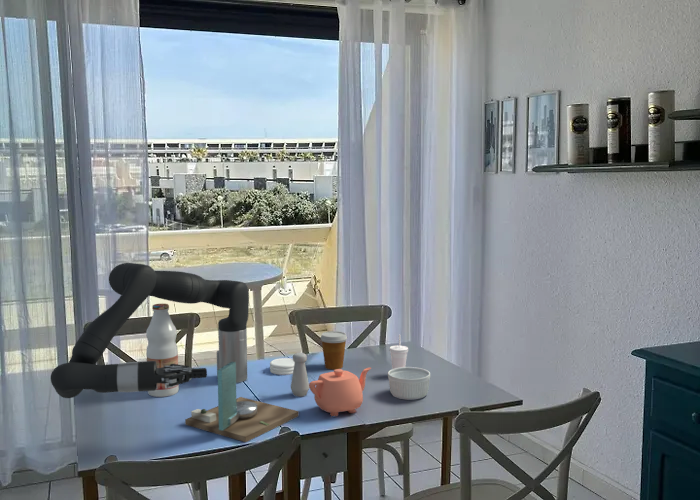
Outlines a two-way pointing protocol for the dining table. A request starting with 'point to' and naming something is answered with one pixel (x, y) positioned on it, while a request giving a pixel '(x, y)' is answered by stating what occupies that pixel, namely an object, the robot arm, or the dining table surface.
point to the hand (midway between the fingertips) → (206, 372)
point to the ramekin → (409, 382)
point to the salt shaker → (299, 376)
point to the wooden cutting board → (243, 421)
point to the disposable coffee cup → (333, 349)
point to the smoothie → (398, 355)
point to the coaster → (282, 366)
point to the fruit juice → (162, 346)
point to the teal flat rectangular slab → (231, 398)
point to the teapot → (339, 391)
